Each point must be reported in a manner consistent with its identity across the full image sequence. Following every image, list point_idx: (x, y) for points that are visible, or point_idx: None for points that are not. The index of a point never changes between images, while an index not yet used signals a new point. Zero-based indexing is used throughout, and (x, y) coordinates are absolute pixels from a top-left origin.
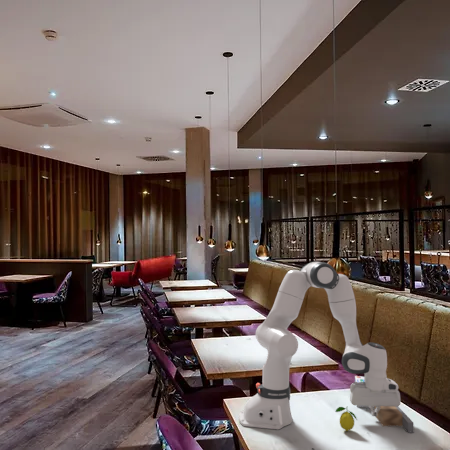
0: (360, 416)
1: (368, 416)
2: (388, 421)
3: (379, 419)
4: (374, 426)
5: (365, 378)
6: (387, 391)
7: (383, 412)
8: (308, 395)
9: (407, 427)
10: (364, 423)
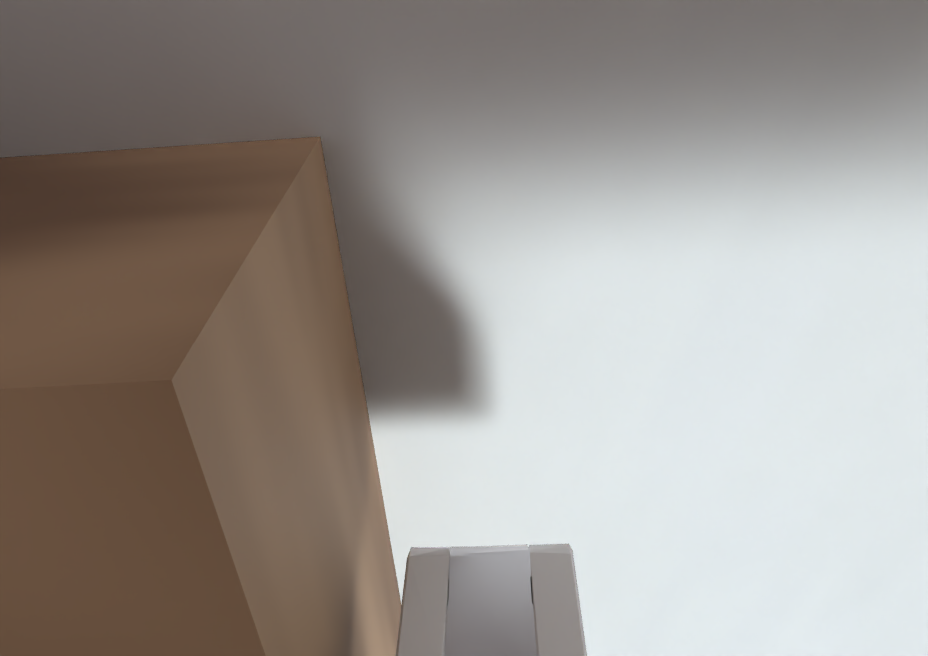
0: (771, 617)
1: None
2: (35, 213)
3: (358, 450)
4: (634, 65)
5: None
6: None
7: (111, 590)
8: None
9: None
10: (882, 270)
